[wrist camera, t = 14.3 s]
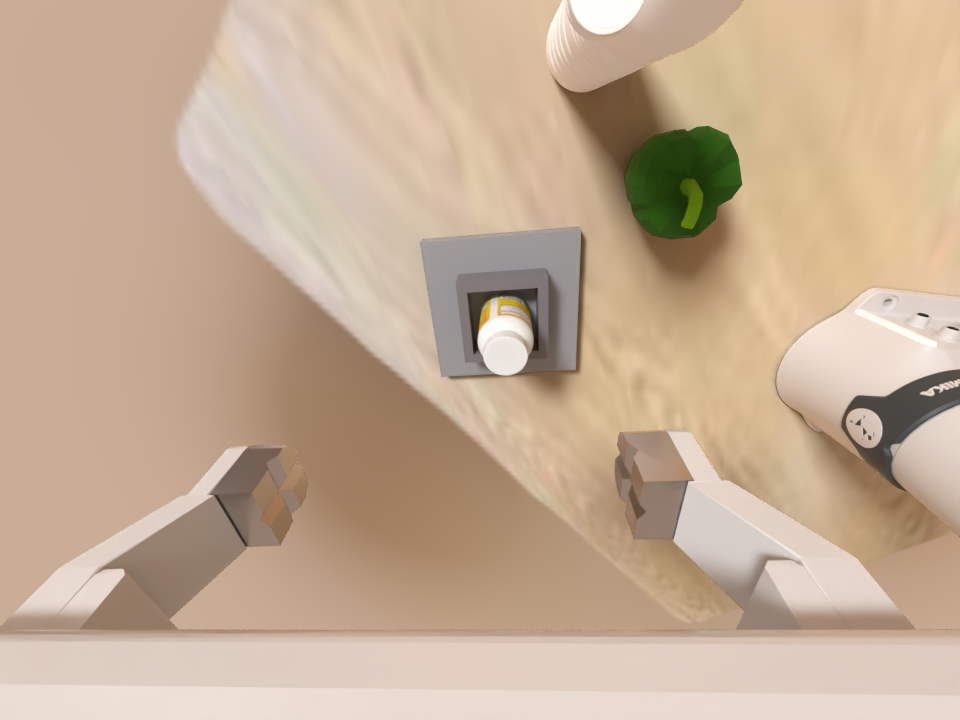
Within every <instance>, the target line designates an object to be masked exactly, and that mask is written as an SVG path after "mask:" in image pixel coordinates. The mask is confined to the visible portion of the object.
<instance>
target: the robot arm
mask: <svg viewBox="0 0 960 720" xmlns="http://www.w3.org/2000/svg"><path fill="white" fill-rule="evenodd" d="M884 301H885V302H884ZM776 386H777V391H778V394H779V396H780V397H781V399H782V400H783V401H784V403H785V404H787V405H788V406H789V407H791V408H793V409H794V410H796V411H798V412H799V413H801V414H802V416H803V418H804V420H805V422H806V423H807V425H808V426H809V427H811V428H812V429H814V430H815V431H818V432H822V431H824V432H825V433H827V434H828V435H829V436H831V437H832V438H833V439H835V440H836V441H837V442H838V443H840V444H841V445H843V446H844V447H845V448H847V449H848V450H849V451H851V452H852V453H853V454H855V455H856V456H858V457H859V458H860V459H862V460H864V461H866V462H867V463H868V464H869V465H870V466H871V467H873V468H874V469H875V472H877V473H878V474H879V475H880V476H881V477H883V478H884V479H886V480H888V481H889V482H890V483H892V484H893V485H894V486H896V487H897V488H899V489H902V490H904V491H908V492H909V493H910V494H911V495H912V496H914V497H915V498H916V499H917V500H918V501H919V502H920V503H922V504H923V505H924V506H925V507H926V508H927V509H928V510H929V511H931V512H932V513H933V514H934V515H935V516H936V517H937V518H939V519H940V520H941V521H942V522H943V523H944V524H945V525H947V526H948V527H949V528H950V529H951V530H952V531H953V532H955V533H956V534H957V535H958V536H959V537H960V297H955V296H947V295H939V294H930V293H922V292H913V291H905V290H897V289H888V288H880V287H875V288H871V289H869V290H867V291H865V292H864V293H862V294H861V295H860V296H859V297H857V298H856V299H855V300H854V301H853V302H852V303H851V304H850V305H848V306H847V307H846V308H845V309H844V310H842V311H841V312H839V313H838V314H836V315H834V316H832V317H830V318H828V319H826V320H824V321H822V322H821V323H819V324H817V325H816V326H814V327H813V328H811V329H810V330H809V331H807V332H806V333H805V334H804V335H802V336H801V337H800V338H799V339H798V340H797V341H796V342H795V343H794V344H793V345H792V347H791V348H790V349H789V350H788V352H787V353H786V355H785V356H784V358H783V360H782V362H781V364H780V366H779V369H778V372H777V377H776ZM617 446H618V448H619V451H620V455H619V456H618V457H617V458H616V460H615V480H616V485H617V489H618V493H619V496H620V498H621V499H622V500H623V501H624V502H626V503H627V506H626V517H627V520H628V523H629V526H630V529H631V532H632V535H633V538H634V539H665V540H673V542H674V543H675V544H676V545H677V546H678V547H679V548H680V549H681V550H682V551H683V552H684V553H685V554H687V555H688V556H689V557H690V558H691V559H692V560H693V561H694V562H695V563H696V564H697V565H698V566H699V567H700V568H701V569H702V570H703V571H704V572H705V573H706V574H707V575H708V576H709V577H710V578H711V579H712V580H713V581H714V582H715V583H716V584H717V585H718V586H719V587H720V588H721V589H722V590H723V591H724V592H725V593H726V594H727V595H728V596H729V597H731V598H732V599H733V600H734V601H735V602H736V603H737V604H738V605H739V606H740V607H741V608H742V609H743V610H744V613H743V615H742V618H741V620H740V622H739V624H738V626H737V629H736V630H178V629H177V627H176V626H175V625H174V624H173V623H172V622H171V621H170V620H169V619H170V618H171V617H172V616H173V615H175V614H176V613H177V612H178V611H179V610H180V609H181V608H182V607H183V606H184V605H186V604H187V603H188V602H189V601H190V600H191V599H192V598H193V597H194V596H196V594H198V592H200V591H201V590H202V589H203V588H204V587H205V586H206V585H208V583H210V582H211V581H212V580H213V579H214V578H215V577H216V576H217V575H219V573H221V572H222V571H223V570H224V569H225V568H226V567H227V566H228V565H230V563H232V562H233V561H234V560H235V559H236V558H237V557H238V556H239V555H241V554H242V553H243V552H244V551H245V550H246V549H247V548H246V547H254V546H256V547H257V546H278V545H281V543H282V541H283V539H284V538H285V536H286V534H287V532H288V530H289V528H290V526H291V524H292V522H293V519H292V515H291V514H292V513H293V512H294V511H296V510H297V509H298V508H300V507H301V505H302V503H303V501H304V499H305V497H306V493H307V488H308V481H307V475H306V473H305V470H304V469H303V468H302V467H300V466H299V465H298V464H296V461H297V459H298V454H297V452H296V450H295V448H294V447H292V446H289V445H255V446H233V447H231V448H229V449H227V450H226V451H225V452H224V453H223V455H222V456H221V457H220V458H219V459H218V460H217V462H216V463H215V464H214V465H213V466H212V467H211V469H210V470H209V471H208V472H207V473H206V474H205V475H204V477H203V478H202V479H201V480H200V481H199V482H198V484H197V485H196V486H195V487H194V488H193V489H192V490H191V492H190V493H189V494H188V495H187V496H180V497H178V498H177V499H175V500H173V501H172V502H170V503H168V504H167V505H165V506H163V507H161V508H160V509H158V510H156V511H155V512H153V513H151V514H150V515H148V516H146V517H145V518H143V519H141V520H140V521H138V522H136V523H135V524H133V525H131V526H130V527H128V528H126V529H124V530H123V531H121V532H119V533H118V534H116V535H114V536H112V537H111V538H109V539H107V540H106V541H104V542H102V543H101V544H99V545H97V546H96V547H94V548H92V549H91V550H89V551H87V552H85V553H84V554H82V555H81V556H79V557H77V558H75V559H74V560H72V561H70V562H68V563H67V564H65V565H63V566H62V567H60V568H59V569H58V570H57V571H56V572H55V573H54V574H53V575H52V576H51V577H50V578H49V579H48V580H47V581H46V582H45V583H44V584H43V585H42V586H41V587H40V588H39V589H38V590H37V591H36V592H35V593H34V594H33V595H32V596H31V597H30V598H29V599H28V600H27V601H26V602H25V603H24V604H23V605H22V606H20V607H19V608H18V609H17V611H15V613H13V614H12V615H11V616H10V617H9V618H8V619H7V620H6V621H5V622H4V623H3V625H1V626H0V720H960V630H916V629H915V628H914V627H913V625H912V624H911V623H910V622H909V621H908V620H907V618H906V617H905V616H904V615H903V613H902V612H901V611H900V610H899V609H898V607H897V606H896V605H895V604H894V603H893V602H892V600H891V599H890V598H889V597H888V596H887V594H886V593H885V592H884V591H883V590H882V588H881V587H880V586H879V585H878V584H877V582H876V581H875V580H874V579H873V578H872V576H871V575H870V574H869V573H868V572H867V570H866V569H865V568H864V567H863V566H862V564H861V563H860V562H859V561H858V560H857V558H855V557H854V556H852V555H850V554H849V553H847V552H846V551H844V550H842V549H841V548H839V547H837V546H836V545H834V544H832V543H831V542H829V541H827V540H826V539H824V538H823V537H821V536H819V535H818V534H816V533H814V532H813V531H811V530H809V529H808V528H806V527H805V526H803V525H801V524H800V523H798V522H796V521H795V520H793V519H791V518H790V517H788V516H786V515H785V514H783V513H782V512H780V511H778V510H777V509H775V508H773V507H772V506H770V505H768V504H767V503H765V502H763V501H762V500H760V499H759V498H757V497H755V496H754V495H752V494H750V493H749V492H747V491H745V490H744V489H742V488H741V487H739V486H737V485H736V484H734V483H732V482H731V481H729V480H727V481H722V480H721V478H720V477H719V475H718V474H717V472H716V471H715V469H714V468H713V466H712V465H711V463H710V462H709V460H708V458H707V457H706V455H705V454H704V452H703V451H702V449H701V448H700V446H699V445H698V443H697V442H696V440H695V438H694V437H693V435H692V434H691V432H690V431H689V430H687V429H670V430H663V431H662V430H657V431H636V432H620V434H619V436H618V443H617Z"/></svg>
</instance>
